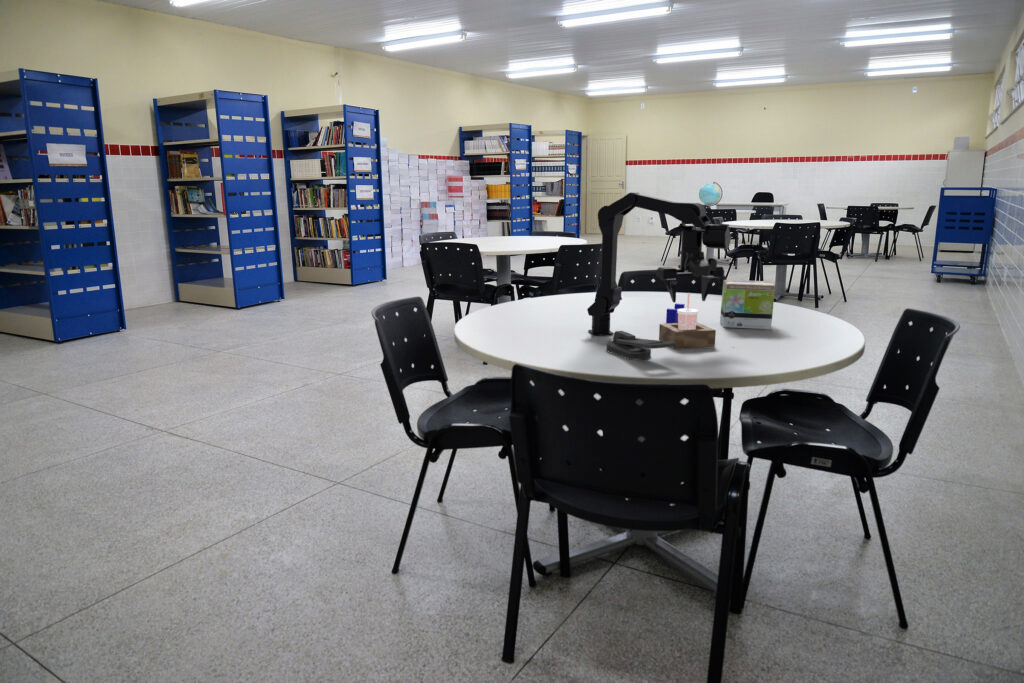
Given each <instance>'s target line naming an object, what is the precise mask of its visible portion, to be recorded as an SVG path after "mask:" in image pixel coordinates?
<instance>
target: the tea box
mask: <svg viewBox="0 0 1024 683" xmlns="http://www.w3.org/2000/svg"><path fill="white" fill-rule="evenodd" d="M775 290H776V285H775V284H773V283H772V282H771V281H769V280H768V281H767V280H739V279H738V280H737V279H723V283H722V292H721V306H720V317H719V319H720V320H719V322H720V323H721V325H722V328H724V329H725V328H739V329H751V330H754V329H755V330H756V329H757V330H767V331H768V330H769V331H770V330H771V329H772V323H773V322H772V321H773V314H774V313H773V312H774V304H775V303H774V301H775V292H776V291H775Z"/></svg>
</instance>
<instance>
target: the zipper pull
mask: <svg viewBox="0 0 1024 683" xmlns="http://www.w3.org/2000/svg"><path fill="white" fill-rule="evenodd" d="M613 333H614V334H613V337H612V340H609V341H606V350H607V352H608V351H609V352H608V353H610V352H612V353H611V354H613V353H614V354H613V355H616V354H617V356H619V355H620V356H619V357H621V356H623V357H622V358H624V357H626V358H625V359H627V358H628V359H627V360H633V359H641V360H647V359H650V358H651V357H652V355H651V354H652V352H651V351H652V349H663V348H673V346H676V343H675V342H668V341H660V340H659V339H658V340H656V339H646V338H639V337H638V338H637V337H636V335H634V334H632V333H629V332H627V331H624V330H616V331H614V332H613ZM649 357H650V358H649Z"/></svg>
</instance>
